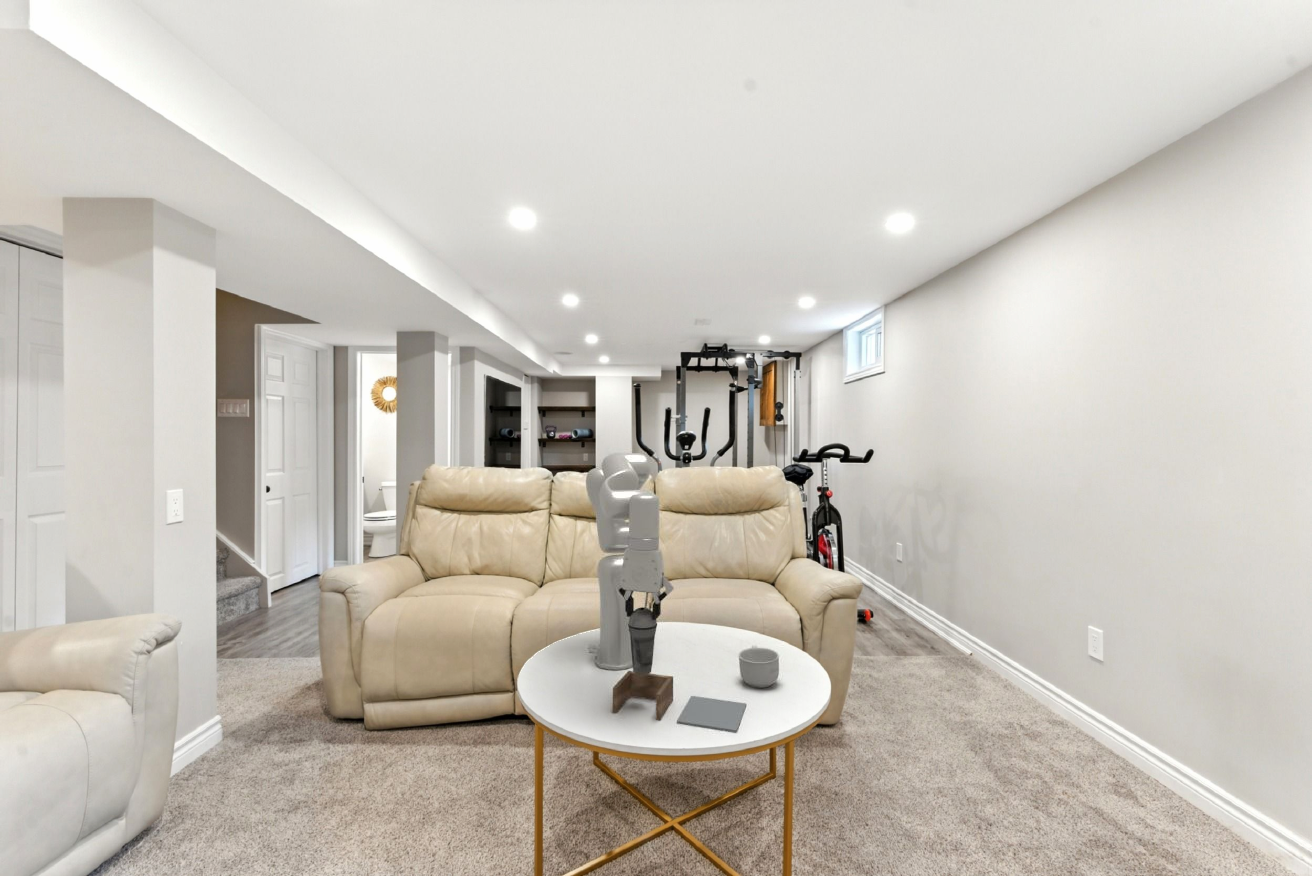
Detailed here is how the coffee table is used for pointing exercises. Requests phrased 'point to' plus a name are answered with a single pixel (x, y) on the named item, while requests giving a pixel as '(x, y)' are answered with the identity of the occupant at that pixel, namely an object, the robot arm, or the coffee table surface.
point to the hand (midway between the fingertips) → (642, 616)
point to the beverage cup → (642, 639)
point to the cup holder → (644, 690)
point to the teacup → (759, 666)
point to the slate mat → (712, 713)
